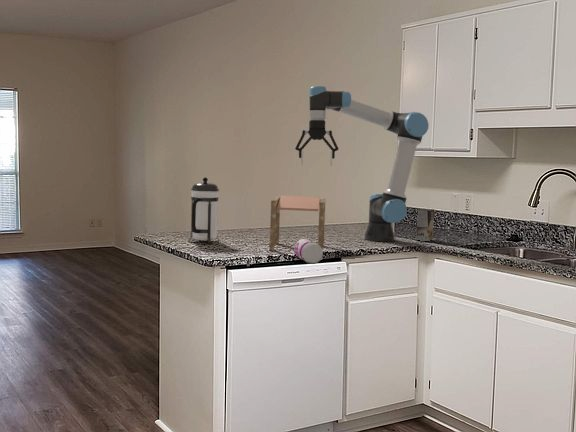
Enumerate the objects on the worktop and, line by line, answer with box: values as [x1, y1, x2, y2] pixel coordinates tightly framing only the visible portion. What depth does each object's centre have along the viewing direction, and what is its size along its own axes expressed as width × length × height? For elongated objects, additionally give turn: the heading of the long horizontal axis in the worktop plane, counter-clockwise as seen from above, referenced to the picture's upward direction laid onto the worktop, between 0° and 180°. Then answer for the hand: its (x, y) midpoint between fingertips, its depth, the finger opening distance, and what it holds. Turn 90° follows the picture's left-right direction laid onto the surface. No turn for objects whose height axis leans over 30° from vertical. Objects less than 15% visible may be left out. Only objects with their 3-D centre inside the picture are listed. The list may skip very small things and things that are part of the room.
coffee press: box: [187, 176, 220, 245], centre depth 318 cm, size 17×16×30 cm
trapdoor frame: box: [269, 196, 326, 252], centre depth 311 cm, size 23×23×22 cm
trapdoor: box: [277, 194, 321, 212], centre depth 310 cm, size 18×18×2 cm
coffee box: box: [415, 208, 435, 242], centre depth 351 cm, size 9×6×16 cm
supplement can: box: [293, 238, 324, 265], centre depth 278 cm, size 8×8×15 cm
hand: (316, 165), depth 324 cm, fingers open, 13 cm apart
